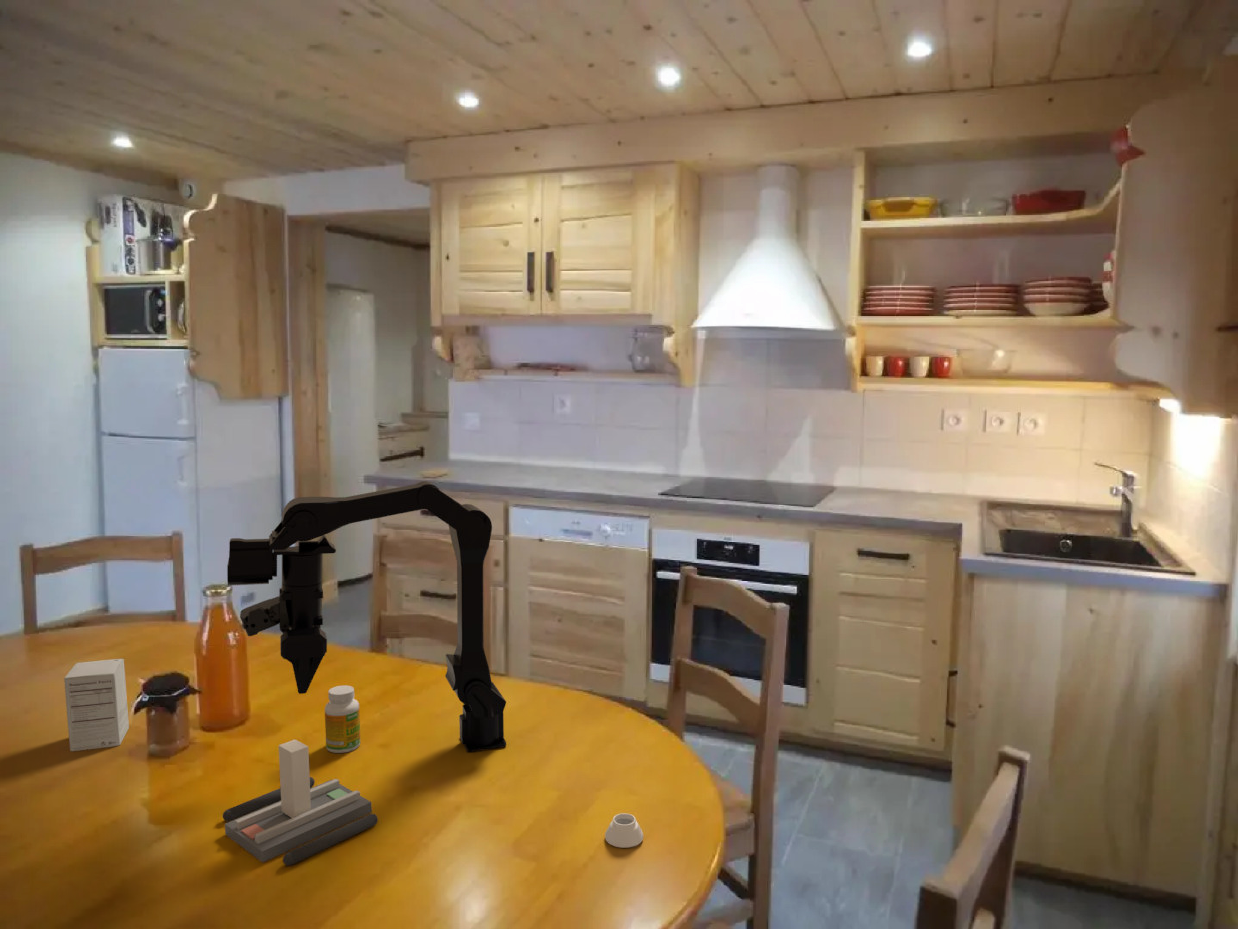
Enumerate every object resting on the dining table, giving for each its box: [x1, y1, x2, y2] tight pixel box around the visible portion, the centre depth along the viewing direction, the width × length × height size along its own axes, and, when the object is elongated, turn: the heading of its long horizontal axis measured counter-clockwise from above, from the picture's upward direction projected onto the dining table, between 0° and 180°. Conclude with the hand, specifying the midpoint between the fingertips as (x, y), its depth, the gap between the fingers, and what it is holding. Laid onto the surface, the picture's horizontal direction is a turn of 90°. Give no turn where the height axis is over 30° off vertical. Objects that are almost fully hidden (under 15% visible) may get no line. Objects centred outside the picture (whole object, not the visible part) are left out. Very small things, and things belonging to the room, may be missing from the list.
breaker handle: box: [278, 739, 311, 818], centre depth 117 cm, size 2×3×10 cm
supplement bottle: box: [324, 685, 361, 754], centre depth 141 cm, size 5×5×10 cm
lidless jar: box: [604, 812, 644, 849], centre depth 115 cm, size 5×3×5 cm
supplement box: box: [63, 658, 130, 752], centre depth 143 cm, size 7×7×13 cm
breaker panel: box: [224, 778, 373, 863], centre depth 118 cm, size 16×10×2 cm, turn 140°
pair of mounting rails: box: [222, 776, 379, 867], centre depth 118 cm, size 14×18×2 cm
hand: (301, 682), depth 131 cm, fingers open, 9 cm apart
